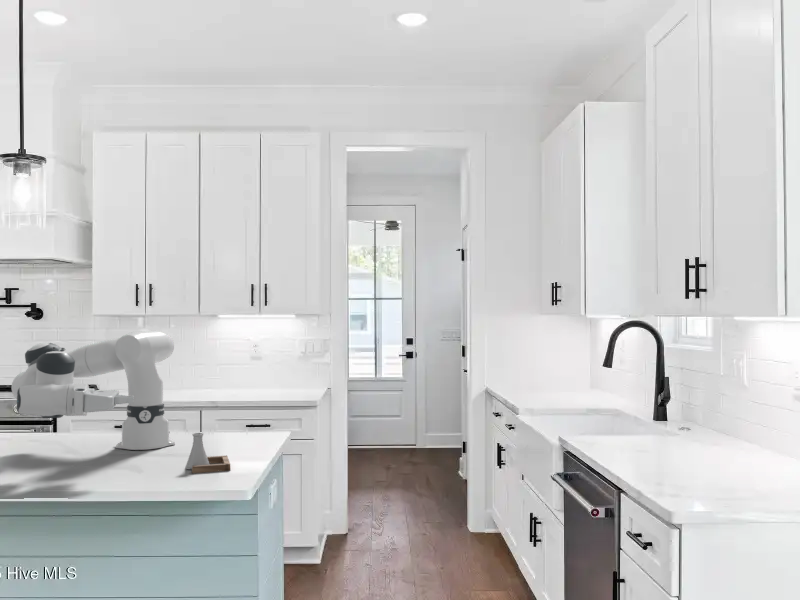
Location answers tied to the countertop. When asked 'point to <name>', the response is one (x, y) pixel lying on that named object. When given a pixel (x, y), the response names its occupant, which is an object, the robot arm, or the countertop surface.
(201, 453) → the flask
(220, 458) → the dock
